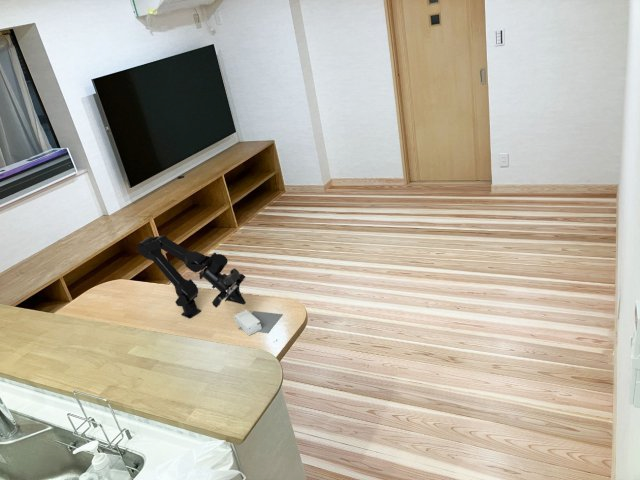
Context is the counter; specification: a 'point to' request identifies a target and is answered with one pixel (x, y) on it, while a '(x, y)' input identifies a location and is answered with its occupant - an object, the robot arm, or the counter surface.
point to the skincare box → (248, 322)
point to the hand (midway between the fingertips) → (244, 303)
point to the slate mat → (266, 320)
